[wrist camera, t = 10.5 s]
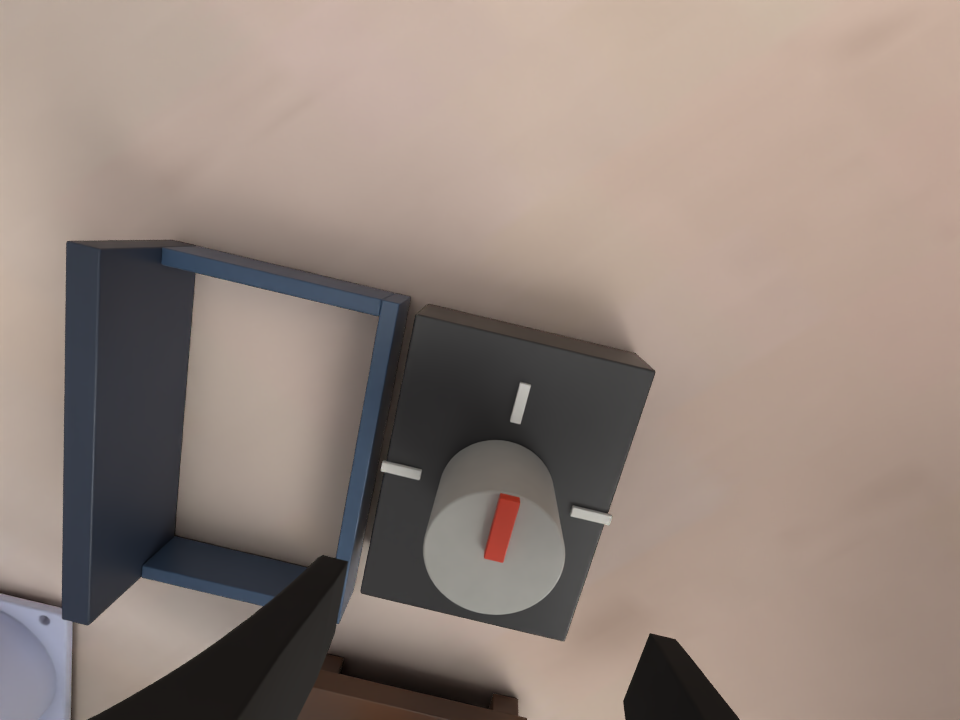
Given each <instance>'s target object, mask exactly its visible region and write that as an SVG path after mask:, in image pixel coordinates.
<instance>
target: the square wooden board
mask: <svg viewBox="0 0 960 720" xmlns="http://www.w3.org/2000/svg"><path fill="white" fill-rule="evenodd" d="M342 664H343V658H342V657H338V656H334V655H330V654H327V655H326V657H325V660H324V662H323V665H322V667H321V670H320V672H319V675H318V678H317V680H316V682H315V684H314V686H313V688H312V690H311V692H310V694H309V696H308V698H307V700H306V702H305V704H304V706H303V708H302V710H301V712H300V714H299V716H298V718H297V720H527V718H524V717H520V716H518V699H516V698H512V697H508V696H503V695H499V694H495V693H494V694H493V695H492V698H491V702H490V705H489V708H488V709H486V708H482V707H478V706H473V705H469V704H465V703H461V702H457V701H452V700H448V699H444V698H440V697H435V696H431V695H427V694H423V693H418V692H414V691H410V690H406V689H401V688H397V687H393V686H389V685H385V684H380V683H376V682H372V681H368V680H363V679H359V678H355V677H351V676H346V675H342V674H341V669H342Z"/></svg>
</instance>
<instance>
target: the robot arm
mask: <svg viewBox="0 0 960 720" xmlns="http://www.w3.org/2000/svg"><path fill="white" fill-rule="evenodd" d="M347 566H348V561H345V560H341V559H337V558H333V557H328V556H324V555H322V556H321V557H319V558H317V559H316V560H315V561H314V562H313V563H312V564H311V565H310V566H309V567H308V568H307V569H306V570H305V571H304V572H302V573H301V574H300V575H299V576H298V577H297V578H296V579H295V580H294V581H293V582H291V583H290V584H289V585H288V586H287V587H286V588H285V589H283V590H282V591H281V592H280V593H279V594H278V595H276V596H275V597H274V598H273V599H272V600H270V601H269V602H268V603H267V604H265V605H264V606H263V607H262V608H261V609H259V610H258V611H257V612H256V613H254V614H253V615H252V616H251V617H249V618H248V619H247V620H246V621H244V622H243V623H241V624H240V625H239V626H237V627H236V628H235V629H233V630H232V631H231V632H229V633H228V634H227V635H225V636H224V637H223V638H221V639H220V640H219V641H217V642H216V643H214V644H213V645H212V646H210V647H209V648H207V649H206V650H204V651H203V652H201V653H200V654H199V655H197V656H196V657H194V658H193V659H191V660H190V661H188V662H187V663H185V664H183V665H182V666H180V667H179V668H177V669H176V670H174V671H172V672H171V673H169V674H168V675H166V676H164V677H163V678H161V679H159V680H158V681H156V682H154V683H153V684H151V685H149V686H148V687H146V688H144V689H142V690H141V691H139V692H137V693H136V694H134V695H132V696H130V697H129V698H127V699H125V700H123V701H122V702H120V703H118V704H116V705H114V706H113V707H111V708H109V709H107V710H105V711H103V712H102V713H100V714H98V715H96V716H94V717H92V718H90V719H88V720H297V718H298V716H299V714H300V712H301V710H302V708H303V706H304V704H305V702H306V700H307V698H308V696H309V694H310V692H311V690H312V688H313V686H314V684H315V682H316V680H317V678H318V675H319V672H320V670H321V667H322V665H323V662H324V660H325V657H326V655H327V652H328V649H329V647H330V644H331V641H332V639H333V636H334V633H335V629H336V624H337V619H338V613H339V608H340V603H341V598H342V592H343V587H344V582H345V576H346V571H347ZM72 629H73V622H71V621H67V620H63V619H62V608H60V607H56V606H52V605H48V604H43V603H39V602H35V601H31V600H26V599H22V598H18V597H14V596H10V595H5V594H1V593H0V720H71V679H72ZM623 702H624V711H625V720H740V719H739V718H738V717H737V715H736V714H735V713H734V712H733V710H732V709H731V708H730V707H729V705H728V704H727V703H726V702H725V700H724V699H723V698H722V697H721V695H720V694H719V693H718V692H717V690H716V689H715V688H714V687H713V685H712V684H711V683H710V681H709V680H708V679H707V678H706V676H705V675H704V674H703V673H702V671H701V670H700V669H699V667H698V666H697V665H696V664H695V662H694V661H693V660H692V659H691V657H690V656H689V655H688V654H687V652H686V651H685V650H684V649H683V648H682V646H681V645H680V644H679V643H678V642H677V641H676V639H672V638H667V637H663V636H659V635H655V634H651V633H650V634H649V637H648V640H647V642H646V645H645V647H644V650H643V652H642V655H641V657H640V660H639V662H638V665H637V668H636V670H635V673H634V675H633V678H632V680H631V683H630V685H629V688H628V690H627V693H626V696H625V698H624V701H623Z"/></svg>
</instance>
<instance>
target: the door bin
mask: <svg viewBox="0 0 960 720" xmlns="http://www.w3.org/2000/svg"><path fill="white" fill-rule="evenodd" d="M195 273H198V274H203V275H207V276H211V277H215V278H219V279H224V280H228V281H232V282H236V283H240V284H245V285H249V286H253V287H257V288H261V289H266V290H270V291H274V292H278V293H282V294H287V295H291V296H295V297H299V298H303V299H307V300H312V301H316V302H320V303H324V304H328V305H333V306H337V307H341V308H345V309H349V310H354V311H358V312H362V313H366V314H370V315H375V316H379V321H378V326H377V332H376V337H375V343H374V348H373V354H372V360H371V365H370V371H369V376H368V382H367V387H366V393H365V398H364V404H363V410H362V415H361V421H360V426H359V432H358V437H357V443H356V448H355V454H354V460H353V465H352V471H351V476H350V482H349V487H348V493H347V498H346V504H345V509H344V515H343V521H342V526H341V532H340V537H339V543H338V548H337V554H336V558H337V559H341V560H345V561H348V566H347V571H346V576H345V582H344V587H343V592H342V598H341V603H340V608H339V613H338V619H337V624H339V622H340V620H341V618H342V616H343V613H344V611H345V609H346V606H347V604H348V602H349V599H350V597H351V595H352V593H353V590H354V586H355V581H356V576H357V571H358V566H359V560H360V555H361V550H362V545H363V540H364V535H365V530H366V525H367V519H368V514H369V509H370V504H371V499H372V494H373V489H374V484H375V478H376V473H377V468H378V463H379V458H380V453H381V448H382V442H383V437H384V432H385V427H386V422H387V417H388V412H389V407H390V401H391V396H392V391H393V386H394V381H395V376H396V371H397V365H398V360H399V355H400V350H401V345H402V340H403V335H404V330H405V324H406V319H407V314H408V309H409V304H410V299H411V297H410V296H406V295H402V294H397V293H395V294H394V293H393V292H388V291H384V290H380V289H376V288H372V287H368V286H363V285H359V284H355V283H351V282H347V281H342V280H338V279H334V278H330V277H326V276H321V275H317V274H313V273H309V272H305V271H301V270H296V269H292V268H288V267H284V266H280V265H275V264H271V263H267V262H263V261H259V260H254V259H250V258H246V257H242V256H238V255H234V254H229V253H225V252H221V251H217V250H213V249H208V248H204V247H200V246H196V245H192V244H188V243H183V242H179V241H175V240H108V241H67V243H66V318H65V396H64V475H63V553H62V619H63V620H67V621H71V622H76V623H80V624H84V625H90V624H91V623H92V622H93V621H94V620H95V619H96V618H97V617H98V616H99V615H100V614H102V613H103V612H104V611H105V610H106V609H107V608H108V607H109V606H110V605H111V604H112V603H113V602H114V601H116V600H117V599H118V598H119V597H120V596H121V595H122V594H123V593H124V592H125V591H126V590H127V589H128V588H130V587H131V586H132V585H133V584H134V583H135V582H136V581H137V580H138V579H139V578H140V577H141V576H142V578H146V579H150V580H155V581H159V582H163V583H167V584H171V585H176V586H180V587H184V588H188V589H193V590H197V591H201V592H205V593H210V594H214V595H218V596H222V597H226V598H231V599H235V600H239V601H243V602H248V603H252V604H256V605H260V606H264V605H265V604H267V603H268V602H269V601H270V600H272V599H273V598H274V597H275V596H276V595H278V594H279V593H280V592H281V591H282V590H283V589H285V588H286V587H287V586H288V585H289V584H290V583H291V582H293V581H294V580H295V579H296V578H297V577H298V576H299V575H300V574H301V573H302V572H304V571H305V570H306V569H307V568H308V567H303V566H299V565H295V564H291V563H286V562H282V561H278V560H274V559H270V558H265V557H261V556H257V555H253V554H248V553H244V552H240V551H236V550H232V549H227V548H223V547H219V546H215V545H210V544H206V543H202V542H198V541H194V540H189V539H185V538H181V537H177V536H175V537H174V532H175V520H176V507H177V495H178V482H179V470H180V457H181V445H182V432H183V420H184V407H185V395H186V383H187V370H188V358H189V345H190V333H191V320H192V308H193V295H194V283H195Z"/></svg>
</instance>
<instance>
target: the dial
mask: <svg viewBox="0 0 960 720" xmlns="http://www.w3.org/2000/svg"><path fill="white" fill-rule="evenodd" d="M423 557H424V563H425V566H426V569H427V572H428V574H429V576H430V578H431V580H432V581H433V583H434V585H435V586H436V587H437V588H438V589H439V591H440V592H441V593H442V594H443V595H445V596H446V597H447V598H448V599H449V600H451V601H452V602H454V603H455V604H457V605H459V606H461V607H463V608H465V609H468V610H471V611H474V612H477V613H483V614H492V615H501V614H510V613H515V612H518V611H522V610H524V609H527V608H529V607H531V606H533V605H535V604H536V603H538V602H539V601H541V600H542V599H543V598H545V597H546V596H547V595H548V594H549V593H550V592H551V590H552V589H553V588H554V587H555V585H556V583H557V582H558V580H559V578H560V576H561V573H562V571H563V567H564V562H565V546H564V540H563V535H562V529H561V524H560V518H559V513H558V507H557V502H556V496H555V491H554V486H553V481H552V478H551V475H550V473H549V471H548V469H547V467H546V466H545V464H544V463H543V462H542V460H541V459H540V458H539V457H538V456H537V455H535V454H534V453H533V452H532V451H530V450H528V449H527V448H525V447H523V446H521V445H519V444H516V443H513V442H509V441H503V440H487V441H482V442H478V443H475V444H472V445H470V446H468V447H466V448H464V449H463V450H461V451H459V452H458V453H457V454H456V455H455V456H454V457H453V458H452V459H451V460H450V461H449V463H448V464H447V466H446V467H445V469H444V471H443V473H442V476H441V479H440V483H439V487H438V490H437V494H436V497H435V501H434V505H433V508H432V512H431V515H430V519H429V523H428V526H427V530H426V533H425V537H424V543H423Z"/></svg>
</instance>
